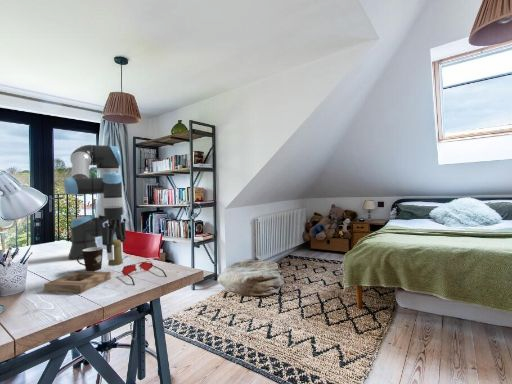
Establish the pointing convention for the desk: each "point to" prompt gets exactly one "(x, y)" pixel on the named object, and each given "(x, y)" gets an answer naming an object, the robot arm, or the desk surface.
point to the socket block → (77, 282)
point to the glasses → (143, 265)
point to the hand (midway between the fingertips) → (115, 257)
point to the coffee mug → (92, 258)
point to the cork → (116, 254)
